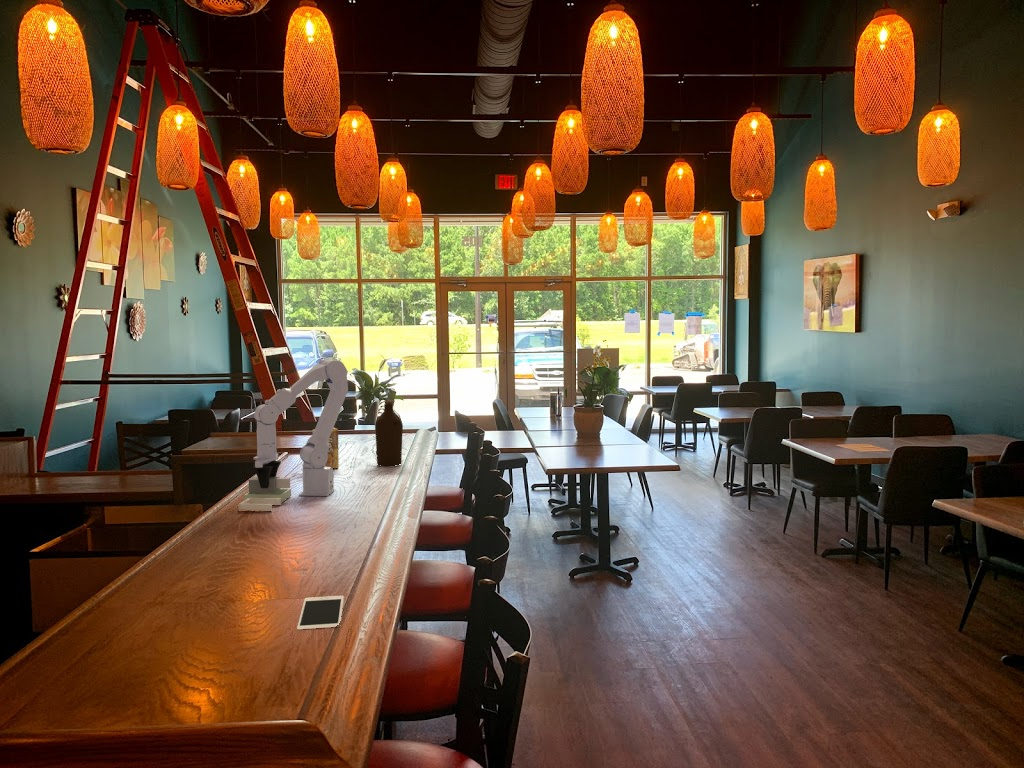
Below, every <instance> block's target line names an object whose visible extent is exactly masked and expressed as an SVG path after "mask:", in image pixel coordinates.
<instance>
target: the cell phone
mask: <svg viewBox="0 0 1024 768" xmlns="http://www.w3.org/2000/svg"><path fill="white" fill-rule="evenodd" d="M344 599H345V595H332V596H331V595H329V596H327V595H326V596H314V597H312V596H311V597H305V598H304V600H303V603H302V608H301V611H300V615H299V619H298V621H297V622H298V623H297V626H296V630H297V631H304V630H303V629H309V630H317V629H316V628H325V629H332V628H331V627H336V626H337V625H339V623H340V621H341V622H342V617H341V616H343V609H342V608H343V607H344Z"/></svg>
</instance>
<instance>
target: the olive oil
mask: <svg viewBox="0 0 1024 768" xmlns="http://www.w3.org/2000/svg"><path fill="white" fill-rule="evenodd" d="M393 403H394V401H393V400H384V405H383V408H384V410H383V412H382V413H380V415H379V416H378V417H377V419H376V421H375V424H374V432H375V433H374V434H375V447H376V449H375V455H376V465H377V464H378V465H381V466H395V465H399V464H401V465H402V461H403V460H402V458H403V457H402V455H403V454H402V452H403V450H402V449H403V429H404V428H403V427H404V425H403V421H402V418H401V417H399V415H398V414H397V413H396V412H395V411H394V404H393ZM378 465H377V466H378ZM381 466H380V467H381ZM395 467H396V466H395Z"/></svg>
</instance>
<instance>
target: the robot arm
mask: <svg viewBox="0 0 1024 768" xmlns="http://www.w3.org/2000/svg"><path fill="white" fill-rule="evenodd" d="M348 372H349V371H348V369H347V367H346V365H345V363H344V362H342V361H340V360H338V359H334V360H333V359H329V358H325V359H322V360H320V361H319V362H318V363H316V364H315V365H313V366H312V367H311V369H309V370H308V371H307V372H306V373H305V374H304V375H302V377H300V378H299V379H298V380H297V381H296V382H295V383H293V384H292V385H291V386H290V387H289V388H287V387H286V388H285V387H282V389H280V388H279V389H277V390H276V394H274V395H273V396H272V397H270V399H266V400H264V404H260V405H258V406H257V407H256V408H255V411H254V413H253V418H254V419H255V421H256V450H257V451H256V452H257V453H256V456H254V457H253V460H255V461H254V465H253V466H252V469H253V470H254V472H255V474H256V477H258V480H259V484H260V487H261V488H268V486H269V477H277V474H278V470H279V467H280V466H281V465H282V462H281V460H279V452H277V428H276V422H277V421H278V419H279V415H281V414H282V413H284V412H285V411H286V410H288V409H289V408H290V407H291V406H292V405H294V404H295V403H296V401H297V397H298V395H300V394H302V392H304V391H305V390H307V389H308V388H310V387H311V386H312V385H313V384H314V383H316V382H320V381H325V383H326V385H327V386H328V388H329V392H328V396H327V398H326V401H325V403H324V406H323V408H322V411H321V413H320V415H319V418H318V421H317V423H316V426H315V428H314V429H315V431H314V433H313V435H312V434H311V436H310V437H309V438H308V439H307V441H306V443H305V445H304V446H302V448H301V449H300V451H299V458H300V460H301V461H302V462H303V464H301V465H302V491H301V492H300V493H298V496H299V497H302V496H303V497H328V496H330V495H331V494H332V493H333V492H335V487H334V486H335V485H334V482H335V481H334V479H335V478H334V469H333V468H332V467H327V466H325V463H326V462H327V460H328V450H329V442H328V440H329V437H330V435H331V432H332V430H333V428H335V424H336V422H337V419H338V417H339V415H340V412H341V409H342V407H343V404H344V402H345V399H346V397H347V395H348V392H349V385H348V383H349V382H348ZM329 494H330V495H329Z"/></svg>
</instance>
